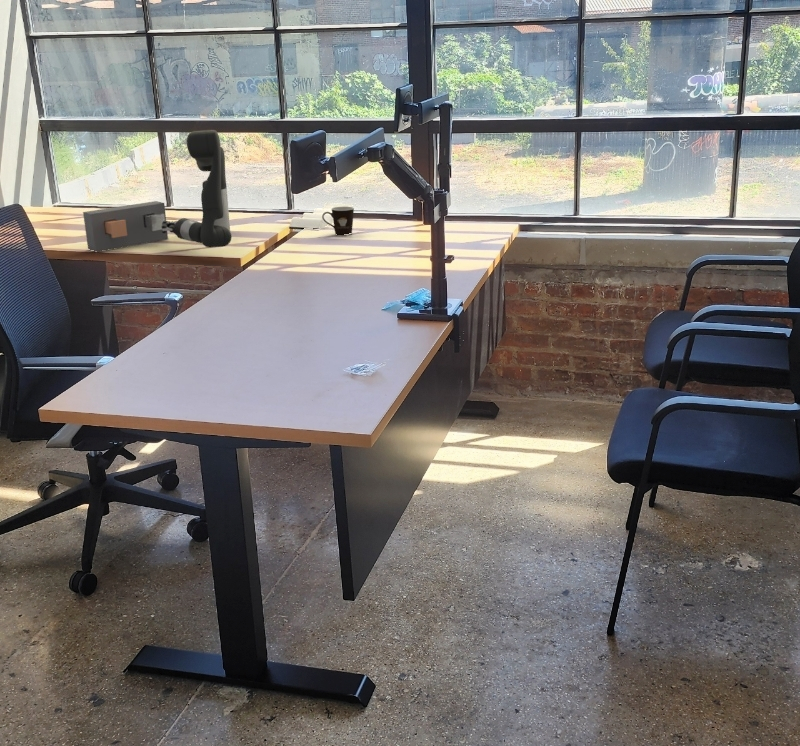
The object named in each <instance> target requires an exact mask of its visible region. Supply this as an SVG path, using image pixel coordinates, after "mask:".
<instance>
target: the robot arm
mask: <svg viewBox="0 0 800 746" xmlns="http://www.w3.org/2000/svg"><path fill="white" fill-rule="evenodd" d="M186 149H187V152H188V154H189V155H190V157H191V158H192V159H194V160H195V161H196V165H197V168H198V170H200V171H201V172H209V174H208V176H207V179H206V180H204V181H203V182H202V184H201V185H202V187H201V188H202V190H201V194H200V198H201V199H200V200H201V209H202V218H201V222H199V221H197V220H193V219H190V218H189V219H188V218H184V217H183V218H180V219H178V220H176V221H173V220H172V221H170V220H169V221H168V220H166V221H163V223H162V233H166V232H167V233H168V232H170V233H173V234H175V236H177V238H178V239H180V240H184V241H188V242H195V243H199V244H203V246H204V247H206V248H221V247H226V246H228V245H229V244H230V243H231V241H232V238H233V237H232V232H231V227H230V226H231V225H230V213H229V201H228V189H227V181H226V180H227V179H226V157H225V156H226V155H225V150H224V148H223V147H222V146H221V140H220V136H219V133H218V131H217V130H215V129H207V130H206V129H205V130H203V129H202V130H194V131H190V132H189V133H188V134H187V138H186Z"/></svg>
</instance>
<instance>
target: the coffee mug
mask: <svg viewBox="0 0 800 746" xmlns="http://www.w3.org/2000/svg"><path fill="white" fill-rule="evenodd" d="M354 211H355V208H354V206H353V207H334V208H332V213H330V212H325V213H324V214H323V216H322V218H323V220H324V221H325V222H326V223H327V224H329V226H330V227H333V229H334V233H335V235H336V234H337V235H336V236H338V235H344V234H349V233H352V234H353V223H354ZM326 213H328V214H330V215H331V216H332V218H333V221H334V224H330V223H328V222H327V221H326V220H325V219H324V215H325V214H326Z"/></svg>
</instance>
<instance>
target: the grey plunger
mask: <svg viewBox="0 0 800 746" xmlns="http://www.w3.org/2000/svg"><path fill="white" fill-rule="evenodd" d="M143 218H144V226H146V227H150V228H151V231H156V230H161V229H162V223H163V221H165V216H164V214H156V215H155V214H145V215H143Z"/></svg>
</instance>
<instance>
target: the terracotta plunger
mask: <svg viewBox="0 0 800 746" xmlns="http://www.w3.org/2000/svg"><path fill="white" fill-rule="evenodd" d="M104 227H105V233H108V234H111V236H112V238H116V237H121V236H127V229H126V220H119V221H115V220H108V221H104Z"/></svg>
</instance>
